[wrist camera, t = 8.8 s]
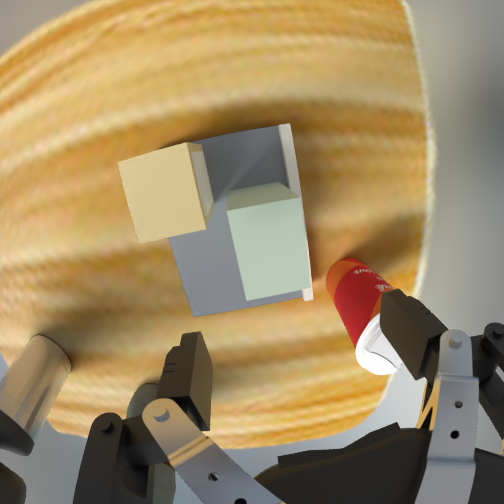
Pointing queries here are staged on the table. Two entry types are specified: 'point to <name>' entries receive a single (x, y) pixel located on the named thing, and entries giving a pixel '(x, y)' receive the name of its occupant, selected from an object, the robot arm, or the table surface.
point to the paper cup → (363, 313)
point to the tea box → (269, 239)
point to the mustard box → (167, 191)
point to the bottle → (163, 471)
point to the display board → (218, 229)
